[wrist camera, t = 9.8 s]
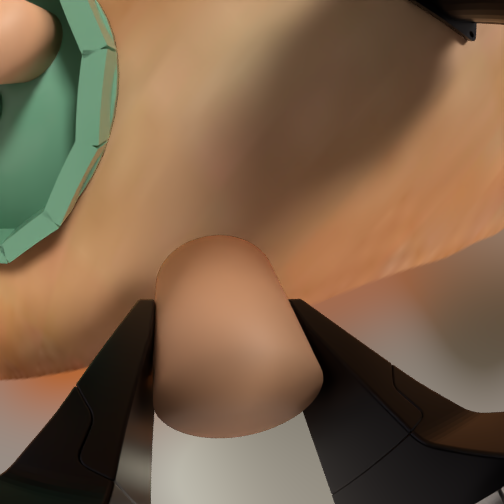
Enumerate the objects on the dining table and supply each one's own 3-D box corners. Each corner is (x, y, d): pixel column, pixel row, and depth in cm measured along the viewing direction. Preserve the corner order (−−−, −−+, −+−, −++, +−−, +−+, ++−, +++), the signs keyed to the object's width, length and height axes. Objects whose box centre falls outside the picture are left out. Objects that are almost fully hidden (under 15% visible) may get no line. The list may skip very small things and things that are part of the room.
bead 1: (39, -3, 7) (-2, -23, 3) (76, 37, 9) (38, 22, 5) (-11, 56, 7) (-61, 57, 4) (23, 98, 9) (-25, 107, 6)
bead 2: (285, 237, 9) (347, 338, 5) (262, 329, 10) (297, 428, 7) (155, 232, 8) (144, 349, 4) (157, 331, 9) (160, 440, 6)
